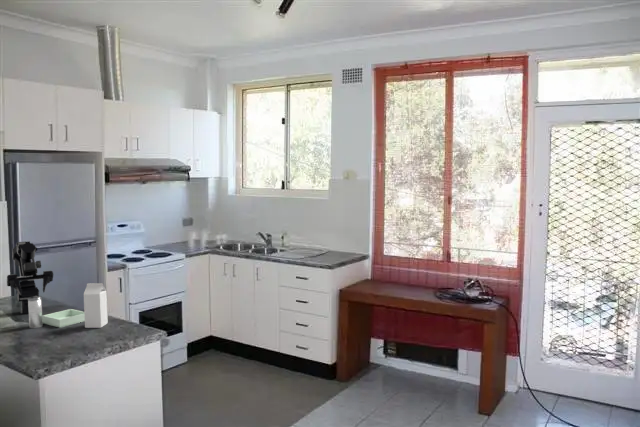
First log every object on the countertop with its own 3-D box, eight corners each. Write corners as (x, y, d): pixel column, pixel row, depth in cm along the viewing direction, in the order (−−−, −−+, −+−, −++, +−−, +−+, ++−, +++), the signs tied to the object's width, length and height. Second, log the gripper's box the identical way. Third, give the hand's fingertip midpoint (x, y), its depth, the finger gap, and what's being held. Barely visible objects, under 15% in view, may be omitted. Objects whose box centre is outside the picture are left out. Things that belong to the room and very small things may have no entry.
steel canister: (29, 325, 239) (28, 297, 238) (42, 324, 241) (41, 295, 240) (29, 328, 234) (27, 299, 233) (42, 327, 237) (41, 298, 236)
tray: (42, 323, 243) (42, 315, 243) (71, 316, 254) (71, 308, 254) (59, 327, 235) (59, 319, 235) (89, 320, 247) (88, 312, 247)
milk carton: (101, 328, 234) (99, 285, 233) (84, 328, 234) (83, 285, 233) (107, 323, 241) (106, 281, 240) (92, 323, 241) (90, 281, 240)
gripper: (5, 257, 241) (9, 285, 233) (51, 253, 252) (56, 280, 244) (5, 271, 248) (8, 300, 240) (49, 267, 259) (54, 294, 251)
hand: (32, 293), depth 243 cm, fingers open, 9 cm apart
